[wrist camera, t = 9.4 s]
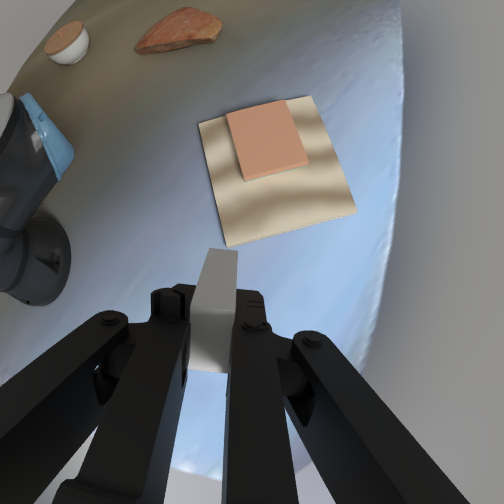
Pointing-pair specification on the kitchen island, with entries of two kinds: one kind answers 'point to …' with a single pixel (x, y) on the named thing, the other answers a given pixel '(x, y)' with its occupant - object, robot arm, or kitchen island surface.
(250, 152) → the tile
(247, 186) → the board
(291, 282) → the kitchen island surface
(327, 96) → the kitchen island surface
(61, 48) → the lidded jar
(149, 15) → the kitchen island surface
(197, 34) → the ceramic shard
